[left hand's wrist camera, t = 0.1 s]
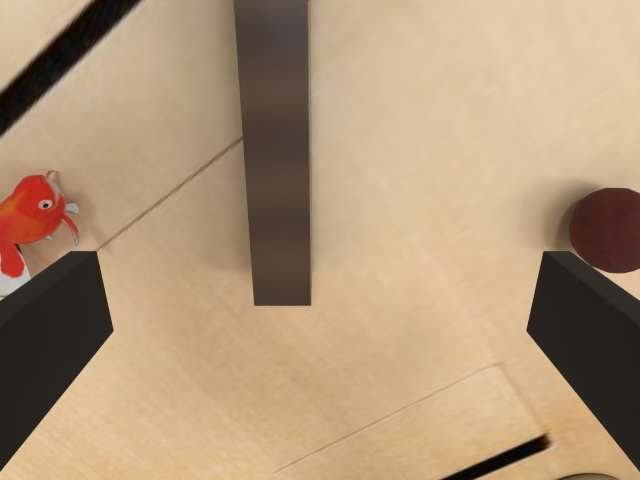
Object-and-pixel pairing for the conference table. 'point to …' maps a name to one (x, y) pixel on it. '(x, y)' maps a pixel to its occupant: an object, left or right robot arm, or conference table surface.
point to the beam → (277, 145)
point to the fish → (29, 225)
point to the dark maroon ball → (608, 230)
